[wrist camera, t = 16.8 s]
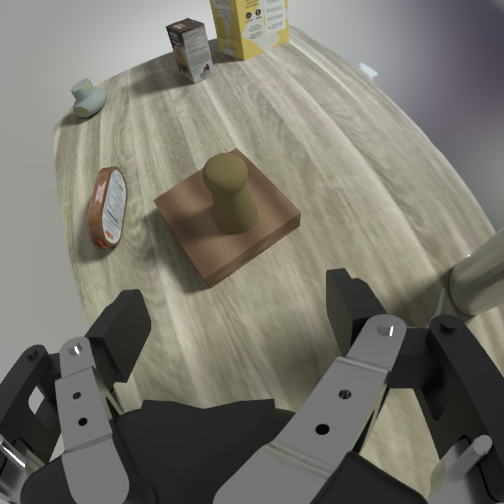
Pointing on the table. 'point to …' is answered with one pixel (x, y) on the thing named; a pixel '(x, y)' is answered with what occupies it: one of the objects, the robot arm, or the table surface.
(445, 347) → the robot arm
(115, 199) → the tin
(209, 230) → the walnut base block
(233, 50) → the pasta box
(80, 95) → the air freshener
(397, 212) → the table surface
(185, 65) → the brown snack box
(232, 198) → the cork
